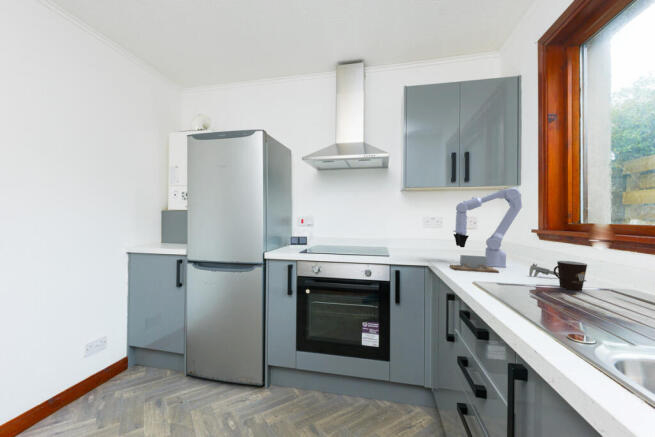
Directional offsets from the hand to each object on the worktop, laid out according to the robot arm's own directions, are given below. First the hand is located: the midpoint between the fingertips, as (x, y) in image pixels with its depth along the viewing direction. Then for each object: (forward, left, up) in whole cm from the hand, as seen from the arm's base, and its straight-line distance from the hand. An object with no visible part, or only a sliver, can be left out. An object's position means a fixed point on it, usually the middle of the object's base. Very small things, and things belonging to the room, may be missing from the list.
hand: (460, 246), depth 157 cm
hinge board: (-1, +21, -9) cm, 23 cm away
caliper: (-33, +30, -10) cm, 46 cm away
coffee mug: (-26, +49, -10) cm, 56 cm away
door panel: (-1, +21, -8) cm, 23 cm away
